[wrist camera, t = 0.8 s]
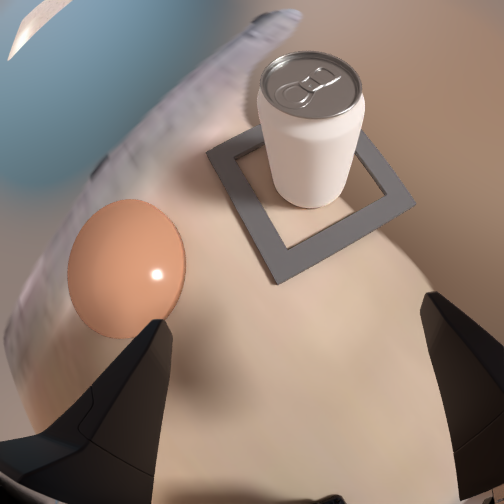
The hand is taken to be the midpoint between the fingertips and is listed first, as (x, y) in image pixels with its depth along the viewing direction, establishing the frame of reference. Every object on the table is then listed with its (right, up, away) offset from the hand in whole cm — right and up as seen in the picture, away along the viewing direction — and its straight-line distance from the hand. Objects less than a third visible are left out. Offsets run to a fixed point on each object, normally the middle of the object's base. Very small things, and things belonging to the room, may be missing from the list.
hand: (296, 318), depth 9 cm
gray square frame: (+4, +9, +16) cm, 19 cm away
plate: (-14, +1, +17) cm, 22 cm away
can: (+4, +9, +16) cm, 19 cm away
